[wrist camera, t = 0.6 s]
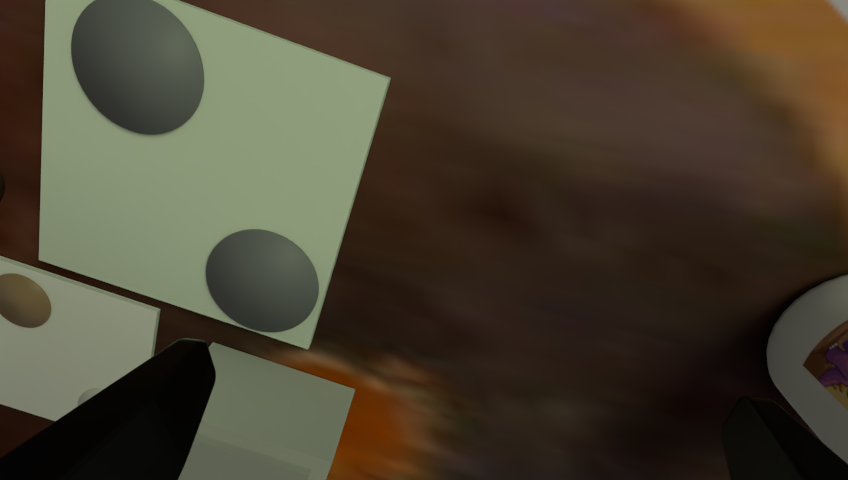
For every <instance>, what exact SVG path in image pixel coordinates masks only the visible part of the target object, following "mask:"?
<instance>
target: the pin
mask: <svg viewBox="0 0 848 480" xmlns="http://www.w3.org/2000/svg"><path fill="white" fill-rule="evenodd" d="M3 194H4V179H3V176H2V173H1V171H0V200H1V199H2V196H3Z"/></svg>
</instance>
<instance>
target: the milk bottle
mask: <svg viewBox="0 0 848 480" xmlns="http://www.w3.org/2000/svg"><path fill="white" fill-rule="evenodd" d="M766 352H767V365H768V370H769V374H770V376H771V379H772V381H773V382H774V384H775V386H776V387H777V388H778V390H779V391H780V392H781V393H782V395H783V396H784V397H785V398H786V400H787V401H788V402H789V403H790V405H791V406H792V407H793V408H794V409H795V410H796V412H797V413H798V414H799V415H800V416H801V417H802V419H803V420H804V421H805V422H806V423H807V424H808V426H809V427H810V428H811V429H812V430H813V431H814V433H815V434H816V435H817V436H818V437H819V438H820V440H821V441H822V442H823V443H824V444H825V445H826V446H827V447H829V448H830V449H831V450H832V451H833V452H834V453H836V454H837V455H838V456H839V457H840V458H841V459H843V460H844V461H845V462H846V463H847V464H848V274H847V275H842V276H839V277H837V278H834V279H831V280H828V281H825V282H823V283H822V284H820V285H818V286H816V287H814V288H812V289H810V290H808V291H807V292H806V293H804V294H803V295H802V296H800V297H799V298H798V299H796V300H795V301H794V302H793V303H792V304H791V305H790V306H789V307H788V308H787V309H786V310H785V311H784V312H783V313H782V315H781V316H780V318H779V319H778V320H777V322H776V323H775V325H774V327H773V329H772V332H771V334H770V336H769V339H768V345H767V350H766Z"/></svg>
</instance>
